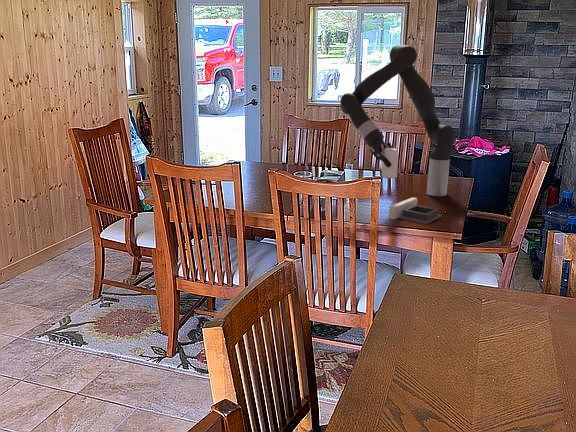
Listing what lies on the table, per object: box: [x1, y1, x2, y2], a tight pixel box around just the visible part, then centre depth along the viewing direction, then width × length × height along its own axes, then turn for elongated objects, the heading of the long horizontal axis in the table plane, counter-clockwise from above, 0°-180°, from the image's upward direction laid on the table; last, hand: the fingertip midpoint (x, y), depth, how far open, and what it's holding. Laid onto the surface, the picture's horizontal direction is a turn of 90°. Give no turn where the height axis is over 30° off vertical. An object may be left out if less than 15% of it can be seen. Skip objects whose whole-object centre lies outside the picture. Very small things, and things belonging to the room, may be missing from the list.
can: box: [381, 147, 399, 179], centre depth 239 cm, size 6×6×12 cm
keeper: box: [398, 204, 442, 225], centre depth 235 cm, size 14×12×3 cm
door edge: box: [388, 197, 418, 220], centre depth 240 cm, size 20×2×5 cm, turn 141°
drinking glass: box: [310, 178, 335, 209], centre depth 244 cm, size 10×10×12 cm
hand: (393, 165), depth 239 cm, fingers closed on can, 5 cm apart
